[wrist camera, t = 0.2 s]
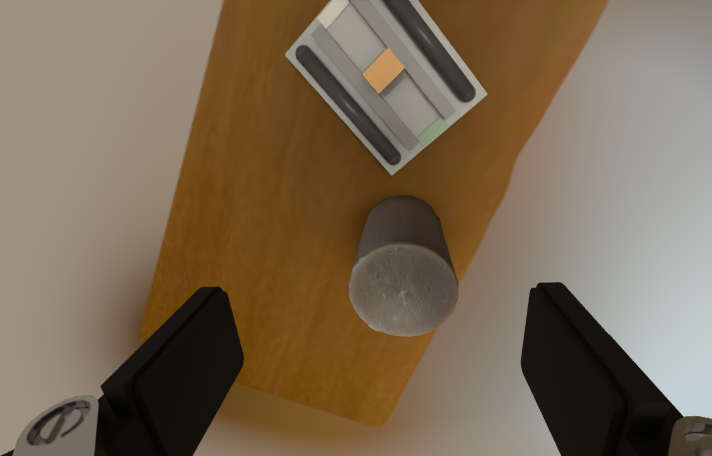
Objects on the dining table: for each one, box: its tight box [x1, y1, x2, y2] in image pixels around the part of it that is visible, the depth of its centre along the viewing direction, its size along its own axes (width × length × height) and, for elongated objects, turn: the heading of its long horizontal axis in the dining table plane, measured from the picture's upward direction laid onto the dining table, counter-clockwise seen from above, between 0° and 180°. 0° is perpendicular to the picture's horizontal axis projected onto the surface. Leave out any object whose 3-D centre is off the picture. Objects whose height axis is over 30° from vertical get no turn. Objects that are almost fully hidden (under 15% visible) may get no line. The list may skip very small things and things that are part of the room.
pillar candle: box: [348, 196, 458, 337], centre depth 34 cm, size 10×10×15 cm
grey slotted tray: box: [285, 0, 488, 175], centre depth 32 cm, size 12×16×5 cm
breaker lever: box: [362, 47, 405, 96], centre depth 29 cm, size 3×3×6 cm
